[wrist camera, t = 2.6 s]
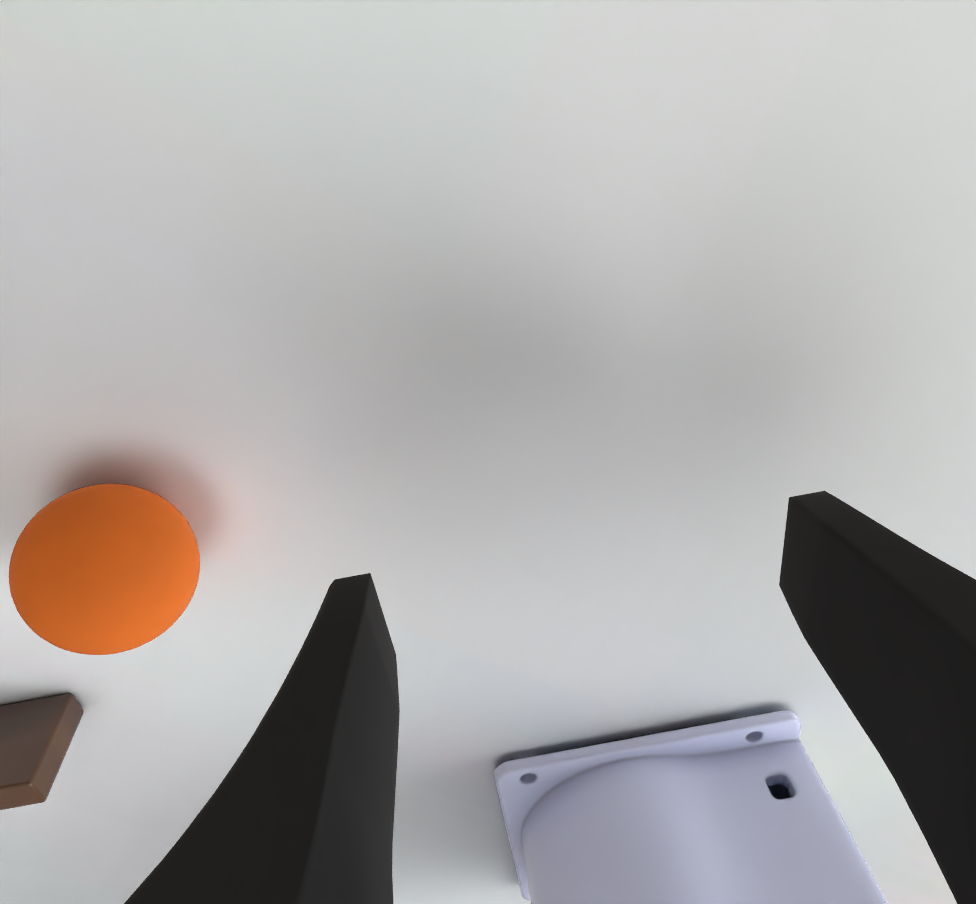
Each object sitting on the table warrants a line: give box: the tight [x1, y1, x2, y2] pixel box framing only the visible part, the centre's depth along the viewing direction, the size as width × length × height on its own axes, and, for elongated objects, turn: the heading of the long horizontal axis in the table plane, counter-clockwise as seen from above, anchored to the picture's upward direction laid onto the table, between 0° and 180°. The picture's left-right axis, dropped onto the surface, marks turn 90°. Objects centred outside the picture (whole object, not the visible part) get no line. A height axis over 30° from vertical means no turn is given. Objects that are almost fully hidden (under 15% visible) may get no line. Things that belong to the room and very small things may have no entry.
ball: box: [9, 484, 200, 655], centre depth 15 cm, size 3×3×3 cm
